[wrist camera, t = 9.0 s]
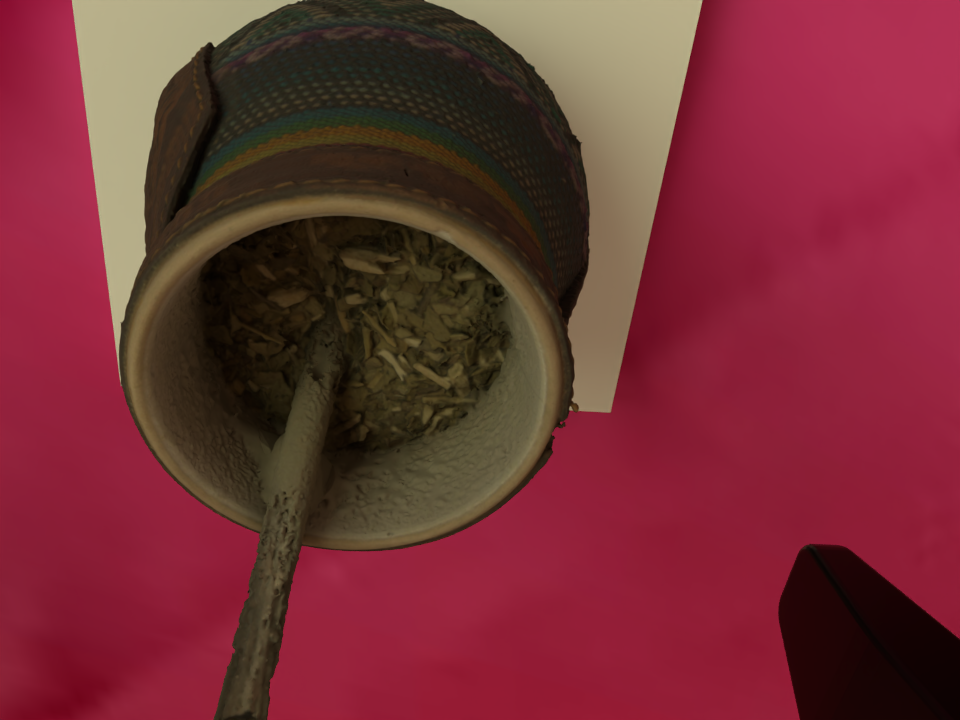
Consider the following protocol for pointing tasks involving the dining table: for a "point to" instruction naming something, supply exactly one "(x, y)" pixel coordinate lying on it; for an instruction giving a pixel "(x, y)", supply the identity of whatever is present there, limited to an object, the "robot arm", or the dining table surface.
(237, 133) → the mate gourd
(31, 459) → the dining table surface
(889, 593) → the robot arm
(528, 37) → the cream square tile
